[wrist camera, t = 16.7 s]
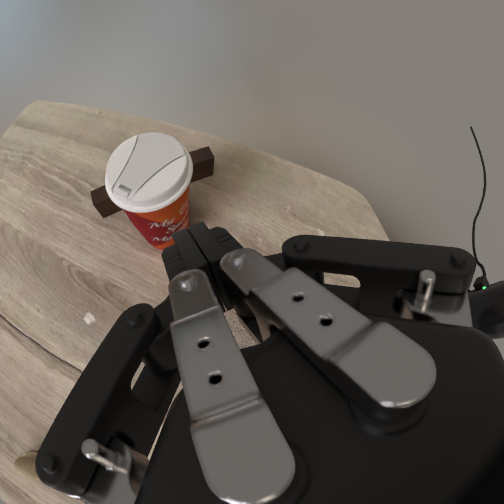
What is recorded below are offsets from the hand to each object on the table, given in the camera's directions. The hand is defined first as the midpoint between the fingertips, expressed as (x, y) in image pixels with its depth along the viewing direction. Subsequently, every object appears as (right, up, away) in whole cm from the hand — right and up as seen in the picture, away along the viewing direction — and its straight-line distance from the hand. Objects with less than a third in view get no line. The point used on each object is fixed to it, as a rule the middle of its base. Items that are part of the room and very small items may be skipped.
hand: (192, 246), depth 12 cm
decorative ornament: (-26, -30, +7) cm, 41 cm away
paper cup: (-8, +3, +21) cm, 22 cm away
